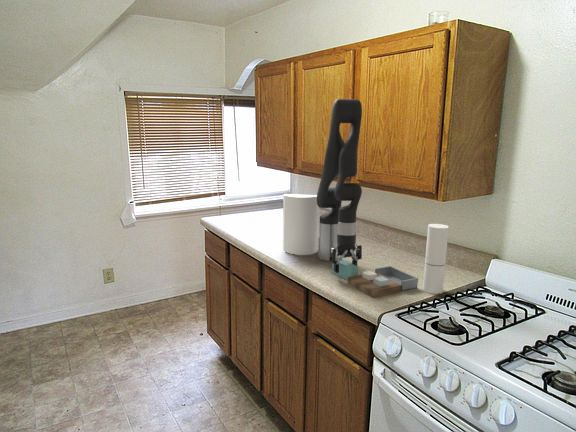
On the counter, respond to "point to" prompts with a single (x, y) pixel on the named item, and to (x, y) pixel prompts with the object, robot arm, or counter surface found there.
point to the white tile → (369, 275)
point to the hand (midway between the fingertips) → (345, 271)
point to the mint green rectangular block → (346, 270)
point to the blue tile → (381, 281)
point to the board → (373, 286)
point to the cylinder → (300, 224)
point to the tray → (398, 277)
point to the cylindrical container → (435, 258)
